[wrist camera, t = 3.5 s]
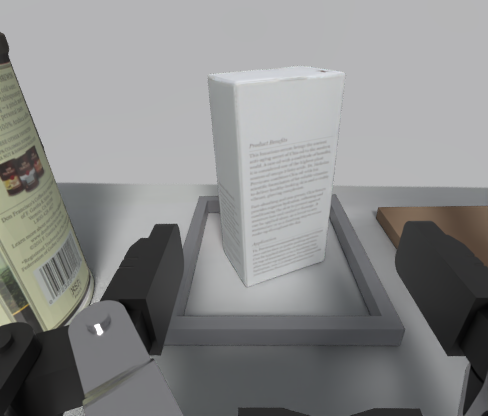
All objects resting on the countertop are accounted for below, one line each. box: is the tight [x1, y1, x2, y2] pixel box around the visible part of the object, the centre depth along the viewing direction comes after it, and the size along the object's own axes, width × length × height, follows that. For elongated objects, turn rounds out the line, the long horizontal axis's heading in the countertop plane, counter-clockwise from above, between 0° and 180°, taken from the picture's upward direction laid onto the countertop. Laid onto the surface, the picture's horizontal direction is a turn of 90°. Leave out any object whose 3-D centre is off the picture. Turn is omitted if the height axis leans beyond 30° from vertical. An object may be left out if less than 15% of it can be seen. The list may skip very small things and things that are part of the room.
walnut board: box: [376, 206, 488, 267], centre depth 21 cm, size 10×10×1 cm
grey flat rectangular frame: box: [164, 194, 405, 346], centre depth 21 cm, size 12×14×1 cm
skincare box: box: [208, 66, 346, 287], centre depth 19 cm, size 6×4×12 cm
